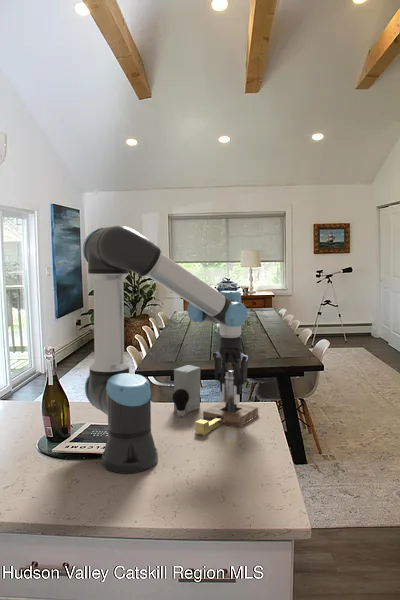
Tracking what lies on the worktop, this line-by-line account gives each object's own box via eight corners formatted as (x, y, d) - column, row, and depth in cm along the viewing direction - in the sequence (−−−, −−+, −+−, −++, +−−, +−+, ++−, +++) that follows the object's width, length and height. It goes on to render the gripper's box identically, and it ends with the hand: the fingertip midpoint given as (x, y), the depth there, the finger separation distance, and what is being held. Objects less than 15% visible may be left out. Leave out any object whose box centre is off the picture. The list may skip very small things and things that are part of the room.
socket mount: (238, 427, 157) (238, 418, 156) (203, 419, 164) (203, 411, 164) (258, 415, 168) (258, 407, 168) (224, 408, 176) (224, 400, 176)
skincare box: (187, 404, 181) (187, 364, 180) (202, 408, 177) (201, 366, 175) (172, 410, 175) (171, 368, 173) (187, 414, 170) (186, 371, 169)
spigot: (233, 413, 163) (233, 373, 162) (222, 411, 166) (221, 371, 164) (240, 409, 167) (239, 370, 166) (228, 407, 169) (228, 369, 168)
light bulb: (179, 413, 171) (179, 386, 171) (192, 416, 168) (192, 388, 167) (169, 417, 167) (168, 389, 166) (182, 421, 163) (182, 392, 162)
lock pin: (203, 435, 149) (203, 423, 149) (195, 433, 151) (195, 421, 151) (223, 424, 159) (223, 413, 159) (215, 422, 161) (215, 411, 161)
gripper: (257, 336, 162) (257, 403, 164) (215, 332, 172) (216, 395, 174) (247, 339, 156) (247, 409, 158) (203, 335, 165) (204, 400, 168)
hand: (230, 401), depth 166 cm, fingers closed on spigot, 4 cm apart
